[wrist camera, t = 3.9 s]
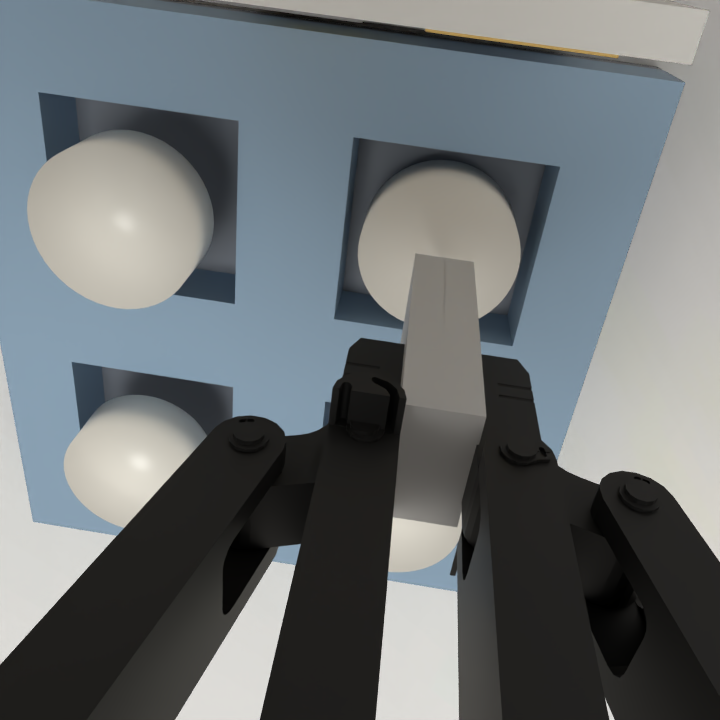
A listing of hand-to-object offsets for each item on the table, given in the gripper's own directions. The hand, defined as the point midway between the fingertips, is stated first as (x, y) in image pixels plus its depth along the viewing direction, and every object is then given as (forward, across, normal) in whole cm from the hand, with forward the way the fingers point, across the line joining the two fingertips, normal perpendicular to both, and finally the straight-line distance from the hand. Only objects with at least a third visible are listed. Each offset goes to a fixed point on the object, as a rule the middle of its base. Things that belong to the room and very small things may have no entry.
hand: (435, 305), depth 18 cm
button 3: (+5, -10, -1) cm, 11 cm away
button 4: (+7, 0, -1) cm, 7 cm away
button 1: (+5, -10, -11) cm, 15 cm away
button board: (+8, -5, -6) cm, 11 cm away
